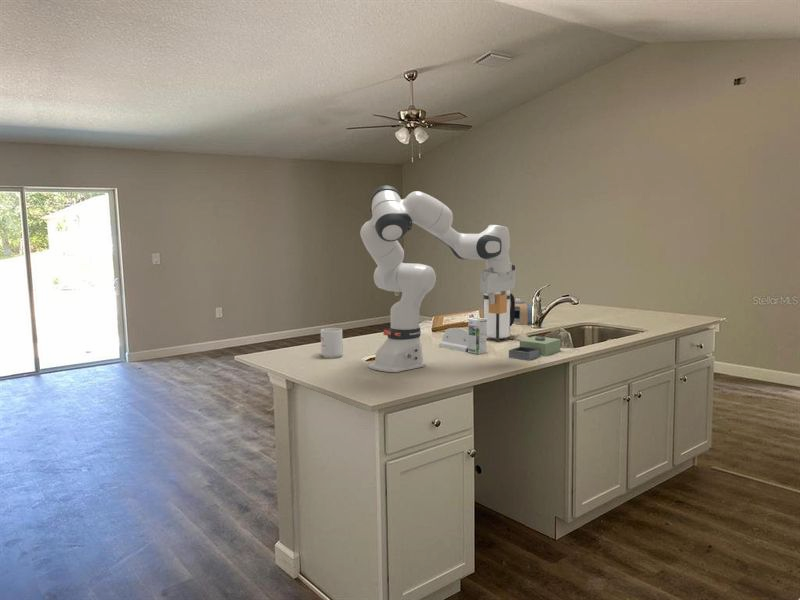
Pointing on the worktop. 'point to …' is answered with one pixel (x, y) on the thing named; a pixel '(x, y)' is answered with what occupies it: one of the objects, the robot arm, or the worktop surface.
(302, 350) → the worktop surface
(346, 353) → the worktop surface
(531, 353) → the tray
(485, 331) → the syrup box
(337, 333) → the mug
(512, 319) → the coffee press
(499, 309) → the orange rectangular block
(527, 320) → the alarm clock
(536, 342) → the green box
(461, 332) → the hinge
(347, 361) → the worktop surface
